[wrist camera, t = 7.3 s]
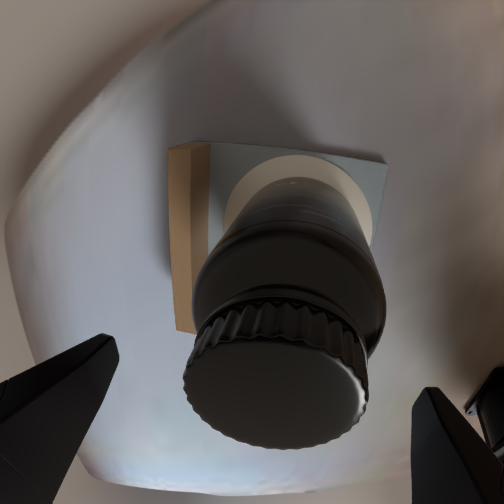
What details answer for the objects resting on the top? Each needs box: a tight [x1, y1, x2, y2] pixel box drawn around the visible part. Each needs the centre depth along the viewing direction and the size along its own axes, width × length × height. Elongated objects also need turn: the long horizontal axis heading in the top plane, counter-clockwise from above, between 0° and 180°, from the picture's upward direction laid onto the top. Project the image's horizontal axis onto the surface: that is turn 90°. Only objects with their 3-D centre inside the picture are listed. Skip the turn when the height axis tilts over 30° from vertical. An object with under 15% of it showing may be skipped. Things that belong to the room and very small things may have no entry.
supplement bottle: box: [183, 177, 386, 450], centre depth 12 cm, size 7×7×12 cm
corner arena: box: [168, 141, 388, 335], centre depth 17 cm, size 11×11×4 cm
